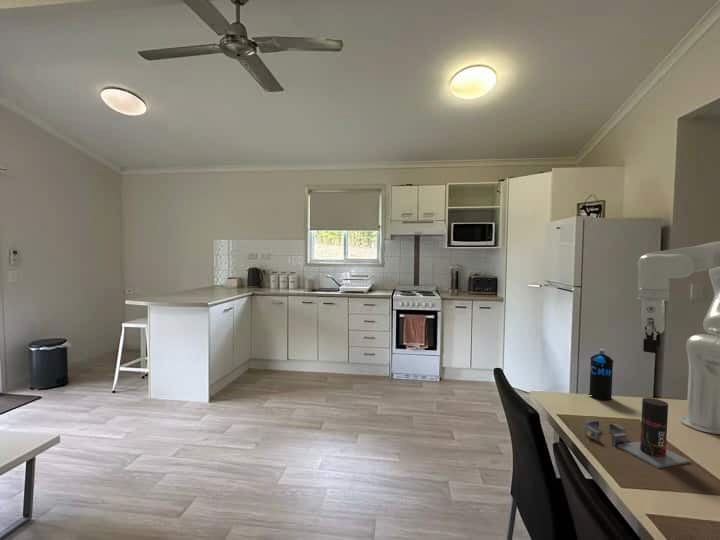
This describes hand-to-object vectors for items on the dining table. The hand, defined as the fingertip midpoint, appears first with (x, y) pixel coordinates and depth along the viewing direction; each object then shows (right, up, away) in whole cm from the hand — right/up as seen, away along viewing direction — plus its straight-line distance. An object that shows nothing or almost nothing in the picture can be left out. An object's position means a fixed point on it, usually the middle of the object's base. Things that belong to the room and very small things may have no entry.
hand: (651, 349), depth 117 cm
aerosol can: (+8, -28, +38) cm, 47 cm away
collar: (-13, -29, +3) cm, 32 cm away
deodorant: (-6, -29, -7) cm, 30 cm away
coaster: (-6, -29, -8) cm, 31 cm away
